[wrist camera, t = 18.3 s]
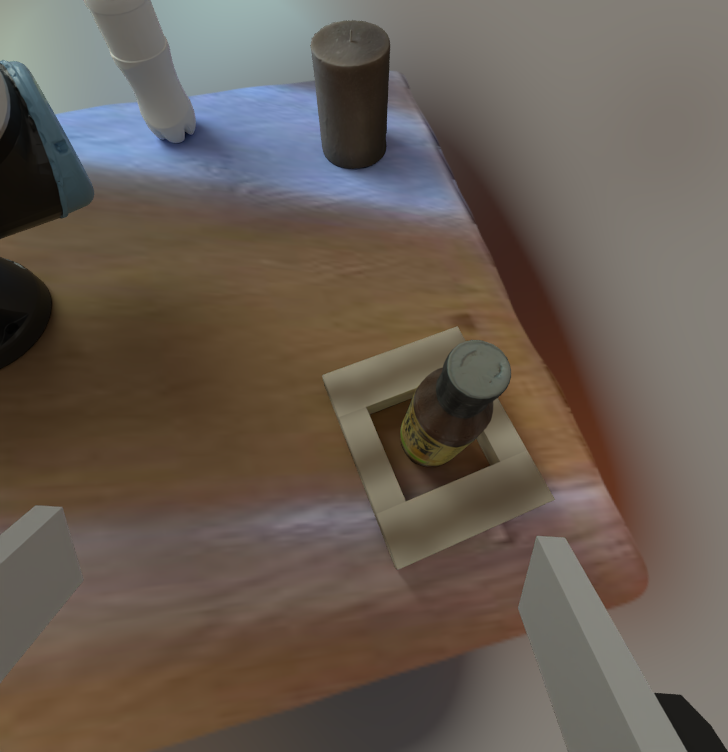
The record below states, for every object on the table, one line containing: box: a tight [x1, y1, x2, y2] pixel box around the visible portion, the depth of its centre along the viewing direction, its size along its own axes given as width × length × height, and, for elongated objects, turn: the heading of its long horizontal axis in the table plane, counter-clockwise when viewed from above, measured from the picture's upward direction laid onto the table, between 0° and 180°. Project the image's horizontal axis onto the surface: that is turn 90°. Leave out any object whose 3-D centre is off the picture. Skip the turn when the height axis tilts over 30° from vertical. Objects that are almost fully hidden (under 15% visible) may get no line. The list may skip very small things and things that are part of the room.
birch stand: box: [322, 327, 555, 570], centre depth 42 cm, size 20×16×3 cm
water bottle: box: [84, 0, 196, 143], centre depth 51 cm, size 7×7×25 cm
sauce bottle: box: [400, 340, 511, 467], centre depth 34 cm, size 6×6×20 cm
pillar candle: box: [310, 20, 390, 169], centre depth 54 cm, size 10×10×15 cm
